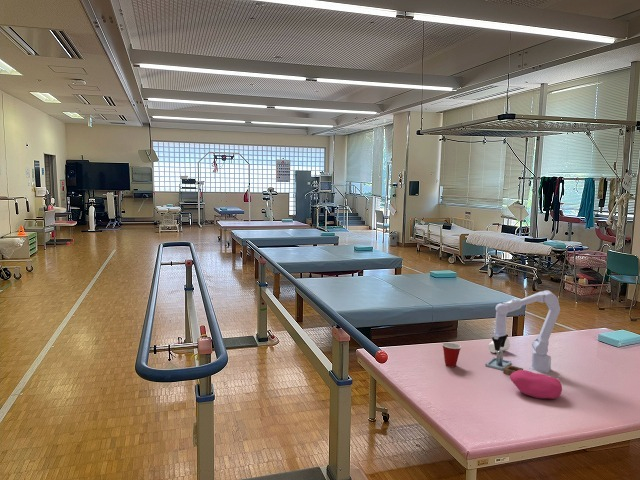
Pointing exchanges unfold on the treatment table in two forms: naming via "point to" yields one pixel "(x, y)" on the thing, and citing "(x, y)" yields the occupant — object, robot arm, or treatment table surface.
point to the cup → (506, 347)
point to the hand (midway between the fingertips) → (499, 348)
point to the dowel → (499, 358)
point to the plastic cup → (451, 353)
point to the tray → (493, 365)
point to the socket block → (511, 369)
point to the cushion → (536, 384)
